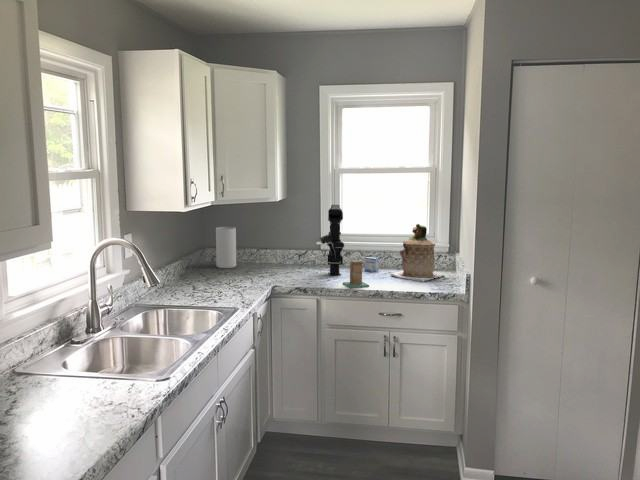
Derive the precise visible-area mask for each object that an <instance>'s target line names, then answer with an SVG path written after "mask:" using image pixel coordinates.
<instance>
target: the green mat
mask: <svg viewBox="0 0 640 480" xmlns="http://www.w3.org/2000/svg"><path fill="white" fill-rule="evenodd" d="M342 285H344V286H346V287H347V288H350V289H357V288H358V289H359V288H360V289H361V288H369V287H370V284H368V283H365V282H364V281H362V284H359V285H353V284H351V283H350V281H342Z"/></svg>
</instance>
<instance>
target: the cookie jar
mask: <svg viewBox="0 0 640 480" xmlns="http://www.w3.org/2000/svg"><path fill="white" fill-rule="evenodd" d="M412 233H413V235H412V236H411V237H409V238H408V239H407V240H405V239H404V241H403V244H402V247H403V250H402V249H400V250H399V251H398V253H399V255H400V257H401V258H402V260H401V265H400V266H401V267H402V270H400V271H396V272H389V275H390V276H393V277H395V278H401V279H406V280H413V281H418V282H422V283H425V281H430V280H435V279H437V278H438V277H439V278H443V277H442V276H444V277H445V273H442V272H434V270H435V261H436V259H435V246H436V242H434V241H430V240H429V239H428V238H427V227H426V226H424V225H421V224H419V223H417V224H415V226H414V227H413V228H412ZM434 278H435V279H434ZM439 278H438V279H439Z"/></svg>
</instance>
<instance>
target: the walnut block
mask: <svg viewBox="0 0 640 480" xmlns="http://www.w3.org/2000/svg"><path fill="white" fill-rule="evenodd" d="M349 282H350V283H351V284H353V285H359V284H362V282H363V260H359V259H356V260H355V259H353V260H350V261H349Z"/></svg>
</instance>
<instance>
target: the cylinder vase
mask: <svg viewBox="0 0 640 480" xmlns="http://www.w3.org/2000/svg"><path fill="white" fill-rule="evenodd" d="M236 228H237V227H235V226H218V227H215V244H216V245H215V247H216V248H215V253H216V255H215V256H216V258H215V259H216V262H215V263H216V268H219V269H232V268H235V267H236V266H237V229H236Z"/></svg>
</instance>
